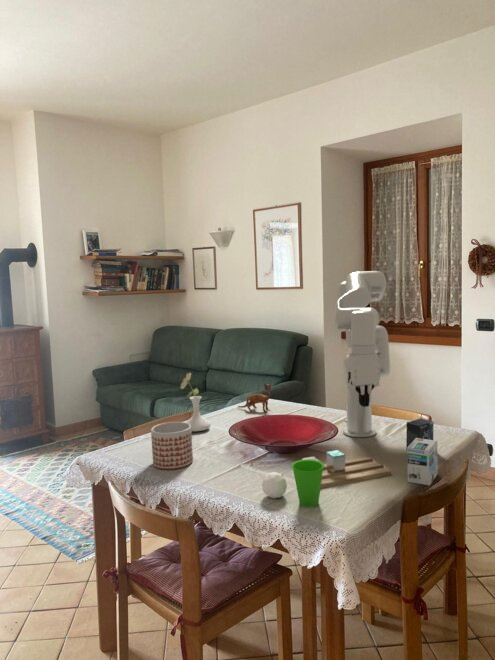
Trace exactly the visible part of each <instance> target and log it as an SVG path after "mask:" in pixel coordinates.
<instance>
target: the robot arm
mask: <svg viewBox="0 0 495 660" xmlns="http://www.w3.org/2000/svg"><path fill="white" fill-rule="evenodd" d="M386 279H387V278H386V276H385V274H384V273H383V272H382V271H379V270H371V271H370V270H365V271H354V272H351V273H349V274H348V275H347V277H346V279H345V281H343V282H340V283H339V284H338V286H337V294H338V299H337V301H336V303H335V305H334V306H335V307H334V323H335V326H336V328H337V330H339V331H345V339H346V345H347V348H348V349H350V351H351V352H350V353H348V354H347V355H346V356H345V357H344V358H343V362H342V364H343V372H344V377H345V388H346V389H345V392H346V393H345V395H346V419H344V423H346V427H344V428H343V430H342V432H343V434H344V435H345V436H348V437H353V438H369V437H373V436H375V435H376V434H377V430H376V428H374V427H373V426H372V425H373V424H372V422H373V420H372V419H373V418H372V391H373V389H375V388H377V387H378V386H380V384H381V383H380V380H381V378H386V377H387V376H388V375H389V374H390V372H391V371H390V369H391V360H390V347H389V346H390V345H389V343H390V342H389V335H388V330H387V329H386V328H385V326H383V325H379V324H380V314H379V313H380V312H378V311H377V310H376V309H375V308H374V307H367V306H368V305H369V304H370V303H371V302H380V301H382V300H383V298H384V295H385V293H386V289H387V280H386Z"/></svg>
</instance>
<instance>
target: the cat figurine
mask: <svg viewBox="0 0 495 660" xmlns="http://www.w3.org/2000/svg"><path fill="white" fill-rule="evenodd" d="M272 389H273V385H272V383H271V382H270V383H269V384H267V383H265V382H264V391H266V392H267V395H264V394H262V393H257V394H256V393H255V394H251V395H249V396H247V398H246V401H245V402H246V403H245V405H238V406H237V408H246V407H247V409H248V410H249V411H250V412H253V410H252V409H251V407H253V408H254V409H257V408H258V407H257V406H256V404H262V411H263V413H268V412H270V411H271V409H269V407H268V406H269V399H270V395H271V391H272Z"/></svg>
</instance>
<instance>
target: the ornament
mask: <svg viewBox="0 0 495 660" xmlns="http://www.w3.org/2000/svg"><path fill="white" fill-rule="evenodd" d="M261 484H262V485H261V487H262V492H263V493H264V495H266V496H267V497H269V498H272V499H278V498H281V497H282V496H283V495H284V494H286V491H287V488H288V483H287V480H286V478H285V477H284V472H282V471H280V472H276V471H273V472H269V473H267V474H266V475H265V476H264V477H263V479H262V482H261Z"/></svg>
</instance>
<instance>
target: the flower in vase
mask: <svg viewBox="0 0 495 660" xmlns="http://www.w3.org/2000/svg"><path fill="white" fill-rule="evenodd" d="M191 378H192V373H191V372H189V373H188V372H187V373H186V375H185V378H183V379H182V382H181V384H180V387H179V388H180V389H182V390H184V388H186V386H187V385H189V387H190V388H191V391H189V392H188V393H187V396H186V397H187V398H189V400H190V401H191V403H192V408H193V414H192V416H191V417H190V418H189V419H188V420H187V421H185V423H188V424H190V425H191V432H203V431H206V430H209V429H210V427H211V426H212V424H211V422H210V421H209V420H208V419H206V418H205V417H203V416H202V415H201V413H200V401H201V399H202V397H203V396H200V395H198V394H199V389H198V387H196V388H194V389H193V387H192V385H191V383H190V380H191ZM192 395H193V396H192Z"/></svg>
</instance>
